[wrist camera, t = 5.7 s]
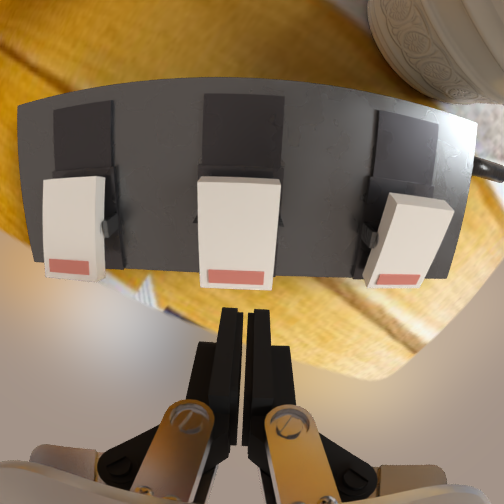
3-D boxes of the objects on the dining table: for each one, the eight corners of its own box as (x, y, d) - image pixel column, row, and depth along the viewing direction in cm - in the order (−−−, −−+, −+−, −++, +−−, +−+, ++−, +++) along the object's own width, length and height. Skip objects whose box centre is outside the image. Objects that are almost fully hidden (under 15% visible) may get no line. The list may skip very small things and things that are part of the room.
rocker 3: (443, 198, 15) (455, 212, 14) (412, 273, 19) (419, 288, 18) (388, 190, 15) (398, 204, 14) (361, 272, 19) (367, 289, 18)
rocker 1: (106, 177, 16) (95, 175, 15) (106, 276, 17) (96, 282, 16) (55, 180, 16) (42, 179, 15) (57, 272, 17) (44, 277, 16)
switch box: (487, 135, 20) (539, 147, 14) (464, 254, 25) (506, 289, 18) (54, 104, 19) (-1, 106, 13) (64, 238, 24) (20, 273, 17)
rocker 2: (278, 178, 16) (281, 185, 14) (270, 277, 18) (271, 291, 17) (201, 175, 16) (197, 182, 14) (203, 274, 18) (199, 288, 17)
